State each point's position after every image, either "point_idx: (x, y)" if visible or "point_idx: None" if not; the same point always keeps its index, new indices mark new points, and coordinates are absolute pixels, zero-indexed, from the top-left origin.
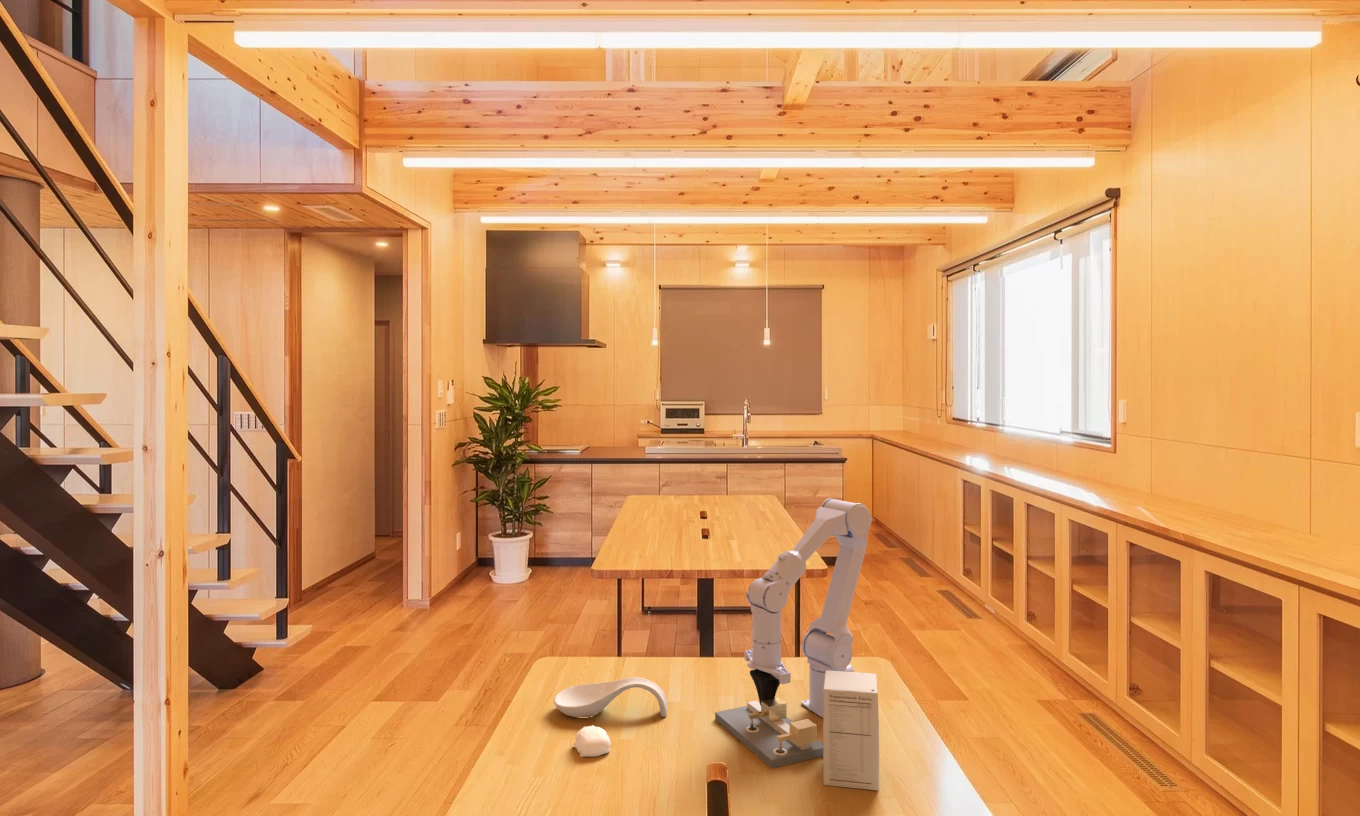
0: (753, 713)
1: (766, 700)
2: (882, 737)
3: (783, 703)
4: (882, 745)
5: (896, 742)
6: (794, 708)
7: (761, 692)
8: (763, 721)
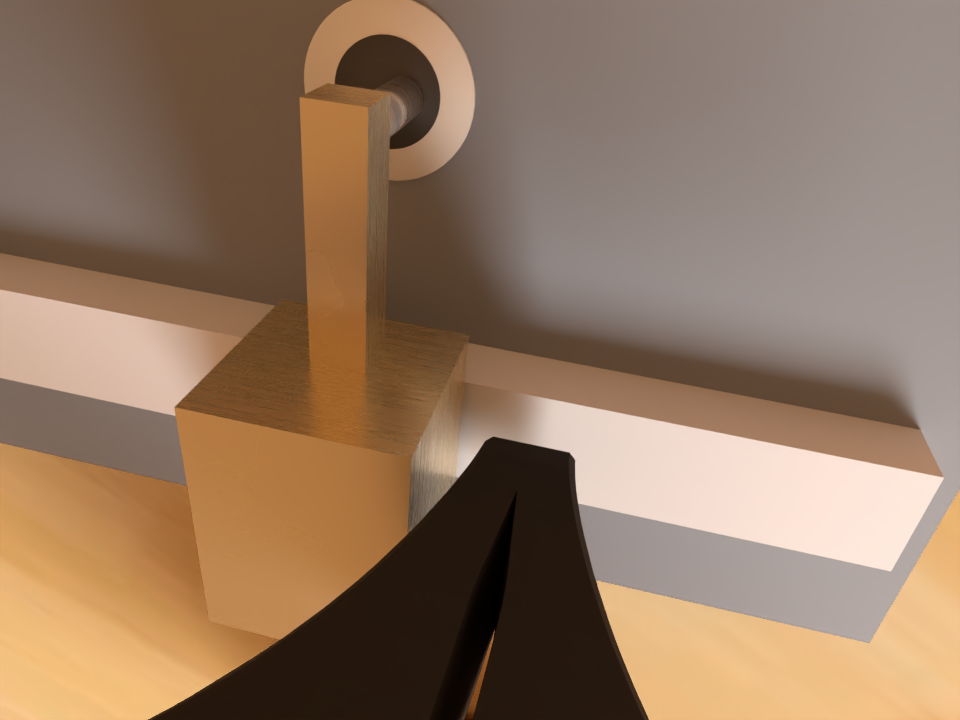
0: (347, 188)
1: (384, 519)
2: (94, 716)
3: (210, 594)
4: (13, 659)
5: (31, 713)
6: (680, 713)
7: (406, 582)
8: (504, 337)
